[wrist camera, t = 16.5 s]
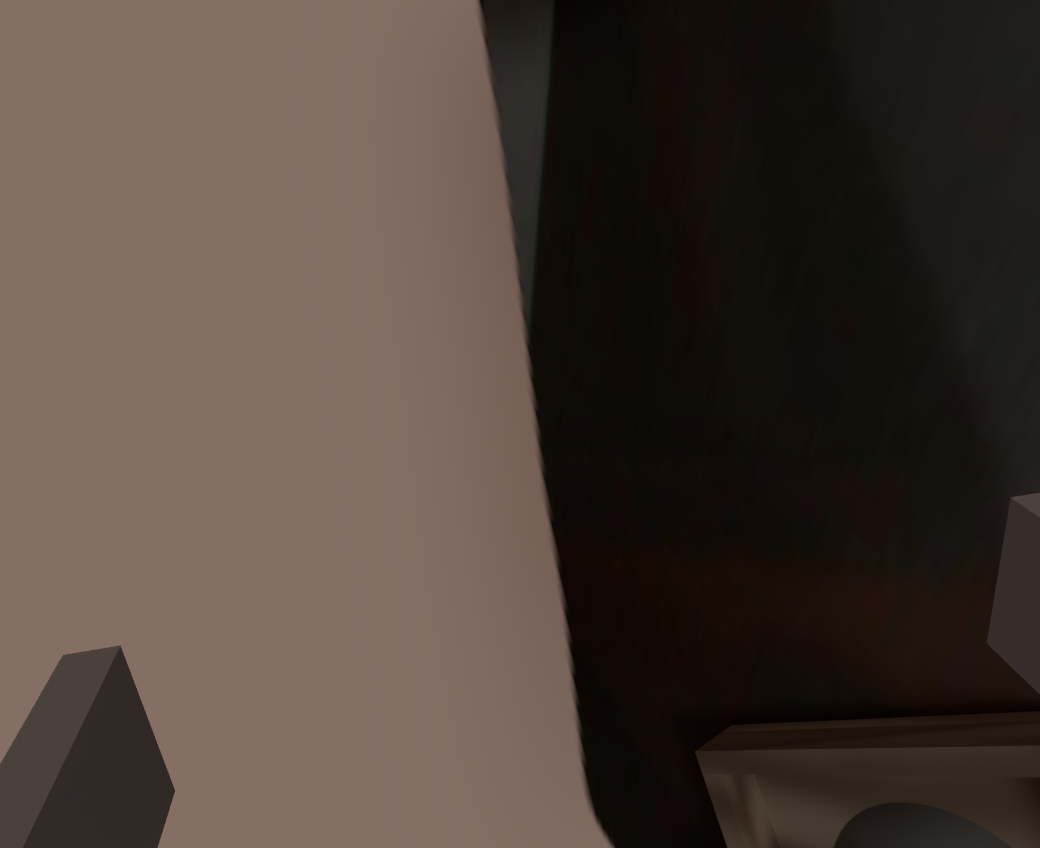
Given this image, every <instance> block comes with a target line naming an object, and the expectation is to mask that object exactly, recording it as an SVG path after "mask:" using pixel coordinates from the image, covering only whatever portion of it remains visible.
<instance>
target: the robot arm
mask: <svg viewBox="0 0 1040 848" xmlns="http://www.w3.org/2000/svg"><path fill="white" fill-rule="evenodd" d="M987 644H988V645H989V646H990V647H991V648H992V649H993V650H994V651H996V652H997V653H998V654H999V655H1000V656H1001V657H1002V658H1003V659H1004V660H1005V661H1006V662H1007V663H1008V664H1009V665H1010V666H1011V667H1012V668H1013V669H1014V670H1015V671H1016V672H1017V673H1018V674H1019V675H1020V676H1021V677H1022V678H1023V679H1024V680H1026V681H1027V682H1028V683H1029V684H1030V685H1031V686H1032V687H1033V688H1034V689H1035V690H1036V691H1037V692H1038V693H1039V694H1040V493H1036V494H1030V495H1024V496H1018V497H1012V498H1011V500H1010V506H1009V512H1008V518H1007V524H1006V530H1005V536H1004V542H1003V548H1002V554H1001V561H1000V567H999V573H998V579H997V585H996V591H995V597H994V603H993V609H992V615H991V621H990V627H989V633H988V639H987ZM174 793H175V790H174V787H173V784H172V781H171V779H170V776H169V773H168V771H167V768H166V766H165V763H164V760H163V757H162V755H161V752H160V750H159V747H158V744H157V741H156V739H155V736H154V734H153V731H152V729H151V726H150V723H149V720H148V718H147V715H146V712H145V710H144V707H143V704H142V702H141V699H140V696H139V694H138V691H137V688H136V686H135V683H134V680H133V678H132V675H131V672H130V670H129V667H128V665H127V662H126V659H125V657H124V654H123V651H122V649H121V646H115V647H109V648H104V649H97V650H91V651H85V652H79V653H73V654H67V655H63V656H62V658H61V660H60V661H59V663H58V665H57V666H56V668H55V670H54V672H53V674H52V675H51V677H50V679H49V680H48V682H47V684H46V686H45V687H44V689H43V691H42V692H41V694H40V696H39V698H38V700H37V701H36V703H35V705H34V706H33V708H32V710H31V712H30V713H29V715H28V717H27V719H26V720H25V722H24V724H23V725H22V728H21V729H20V731H19V733H18V734H17V736H16V738H15V739H14V741H13V743H12V745H11V746H10V748H9V750H8V752H7V753H6V755H5V757H4V759H3V760H2V762H1V764H0V848H157V847H158V844H159V841H160V838H161V835H162V831H163V828H164V824H165V822H166V818H167V815H168V812H169V809H170V805H171V802H172V799H173V796H174Z"/></svg>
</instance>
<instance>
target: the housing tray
mask: <svg viewBox="0 0 1040 848" xmlns="http://www.w3.org/2000/svg"><path fill="white" fill-rule="evenodd" d="M695 753H696V756H697V759H698V762H699V765H700V768H701V771H702V774H703V777H704V780H705V783H706V786H707V789H708V792H709V795H710V798H711V800H712V803H713V806H714V809H715V812H716V815H717V818H718V821H719V824H720V827H721V830H722V833H723V836H724V839H725V842H726V845H727V848H1040V711H1031V712H1009V713H987V714H965V715H943V716H921V717H899V718H877V719H855V720H833V721H811V722H789V723H767V724H745V725H731V726H730V727H728V728H727V729H725V730H724V731H723V732H721V733H720V734H718V735H717V736H716V737H714V738H713V739H711V740H710V741H709V742H707V743H706V744H704V745H703V746H702V747H700V748H699V749H697V750H696V751H695Z"/></svg>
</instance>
